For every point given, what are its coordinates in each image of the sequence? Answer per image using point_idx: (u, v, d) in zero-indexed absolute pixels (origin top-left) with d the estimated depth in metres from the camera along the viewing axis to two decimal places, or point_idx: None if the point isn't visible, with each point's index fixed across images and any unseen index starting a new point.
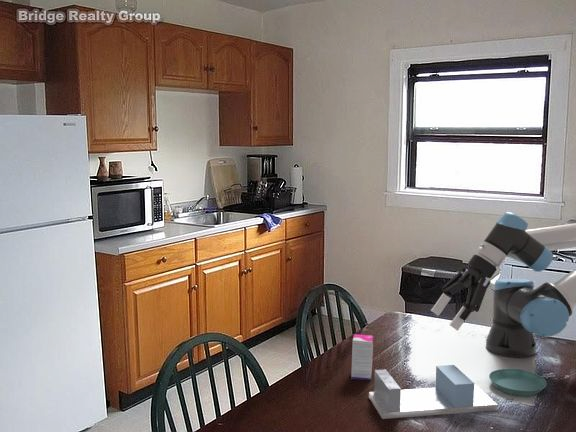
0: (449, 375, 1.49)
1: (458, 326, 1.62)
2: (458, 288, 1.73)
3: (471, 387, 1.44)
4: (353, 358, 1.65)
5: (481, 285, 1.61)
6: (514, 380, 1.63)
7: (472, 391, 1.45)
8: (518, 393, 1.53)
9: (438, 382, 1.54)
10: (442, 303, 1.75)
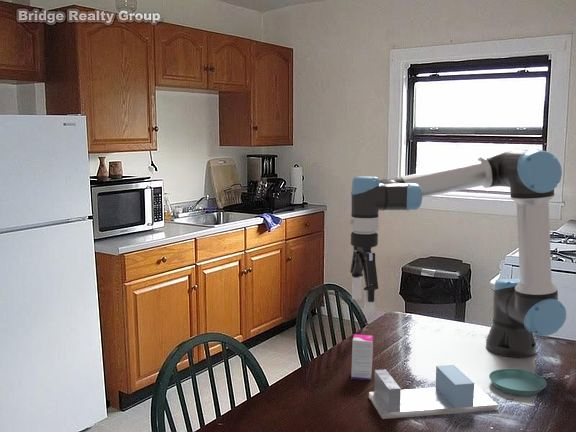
0: (449, 375, 1.49)
1: (372, 308, 1.58)
2: (360, 266, 1.68)
3: (471, 387, 1.44)
4: (353, 358, 1.65)
5: (368, 262, 1.56)
6: (514, 380, 1.63)
7: (472, 391, 1.45)
8: (518, 393, 1.53)
9: (438, 382, 1.54)
10: (357, 286, 1.71)
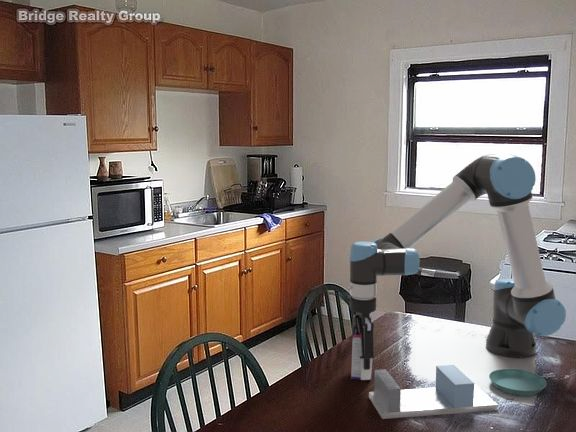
0: (449, 375, 1.49)
1: (368, 375, 1.64)
2: None
3: (471, 387, 1.44)
4: (353, 358, 1.65)
5: (366, 332, 1.59)
6: (514, 380, 1.63)
7: (472, 391, 1.45)
8: (518, 393, 1.53)
9: (438, 382, 1.54)
10: None
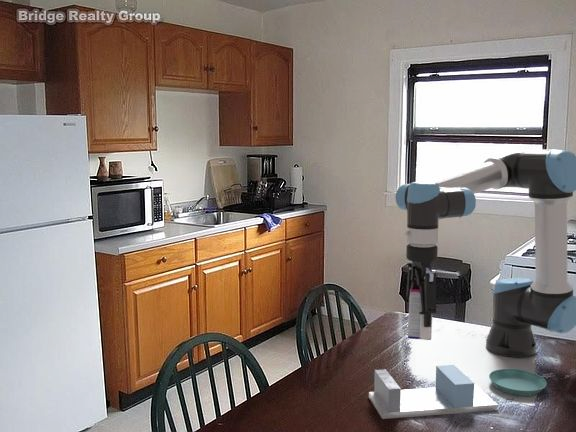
0: (449, 375, 1.49)
1: (429, 334, 1.43)
2: (418, 287, 1.48)
3: (471, 387, 1.44)
4: (411, 315, 1.44)
5: (427, 283, 1.39)
6: (514, 380, 1.63)
7: (472, 391, 1.45)
8: (518, 393, 1.53)
9: (438, 382, 1.54)
10: None
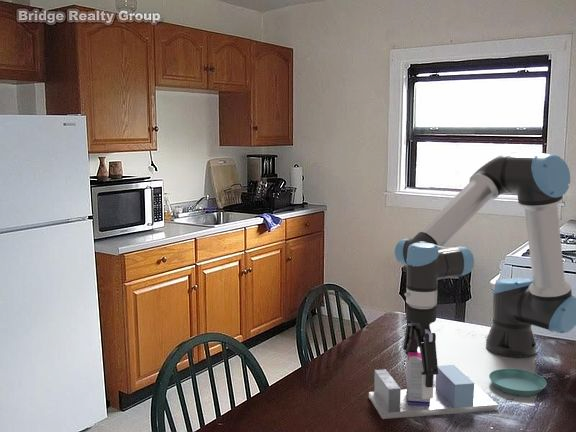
0: (449, 375, 1.49)
1: (431, 394, 1.43)
2: (415, 343, 1.51)
3: (471, 387, 1.44)
4: (410, 380, 1.46)
5: (427, 344, 1.40)
6: (514, 380, 1.63)
7: (472, 391, 1.45)
8: (518, 393, 1.53)
9: (438, 382, 1.54)
10: None
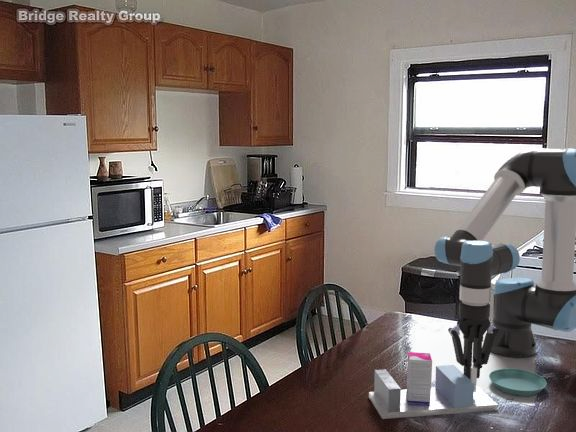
0: (449, 375, 1.49)
1: None
2: (475, 346, 1.49)
3: (471, 387, 1.44)
4: (410, 380, 1.46)
5: (452, 337, 1.49)
6: (514, 380, 1.63)
7: (472, 391, 1.45)
8: (518, 393, 1.53)
9: (437, 382, 1.54)
10: None
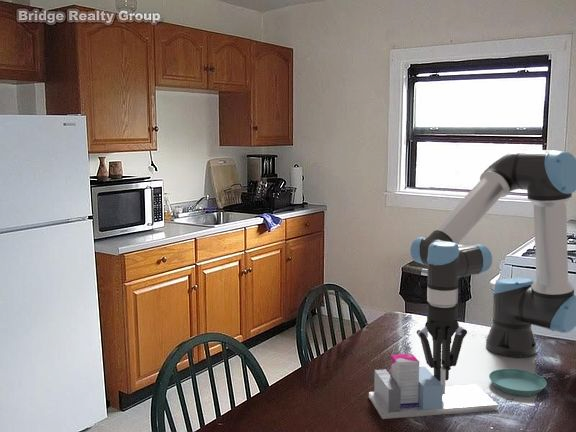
0: None
1: None
2: (444, 348, 1.48)
3: (440, 389, 1.43)
4: (399, 382, 1.45)
5: (421, 339, 1.48)
6: (514, 380, 1.63)
7: (441, 393, 1.43)
8: (518, 393, 1.53)
9: None
10: None
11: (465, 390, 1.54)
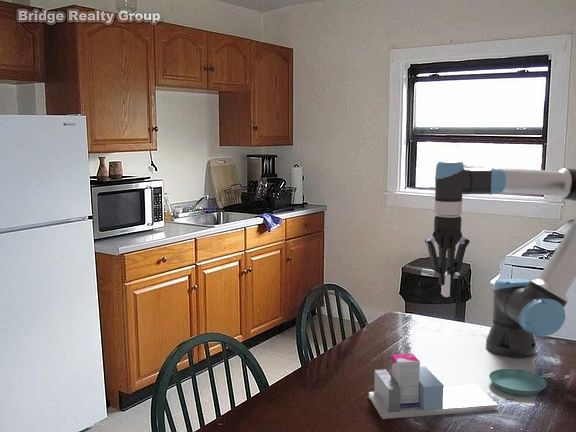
0: None
1: (444, 292, 1.68)
2: (449, 256, 1.68)
3: (440, 389, 1.43)
4: (399, 382, 1.45)
5: (428, 247, 1.67)
6: (514, 380, 1.63)
7: (441, 393, 1.43)
8: (518, 393, 1.53)
9: None
10: None
11: (465, 390, 1.54)
